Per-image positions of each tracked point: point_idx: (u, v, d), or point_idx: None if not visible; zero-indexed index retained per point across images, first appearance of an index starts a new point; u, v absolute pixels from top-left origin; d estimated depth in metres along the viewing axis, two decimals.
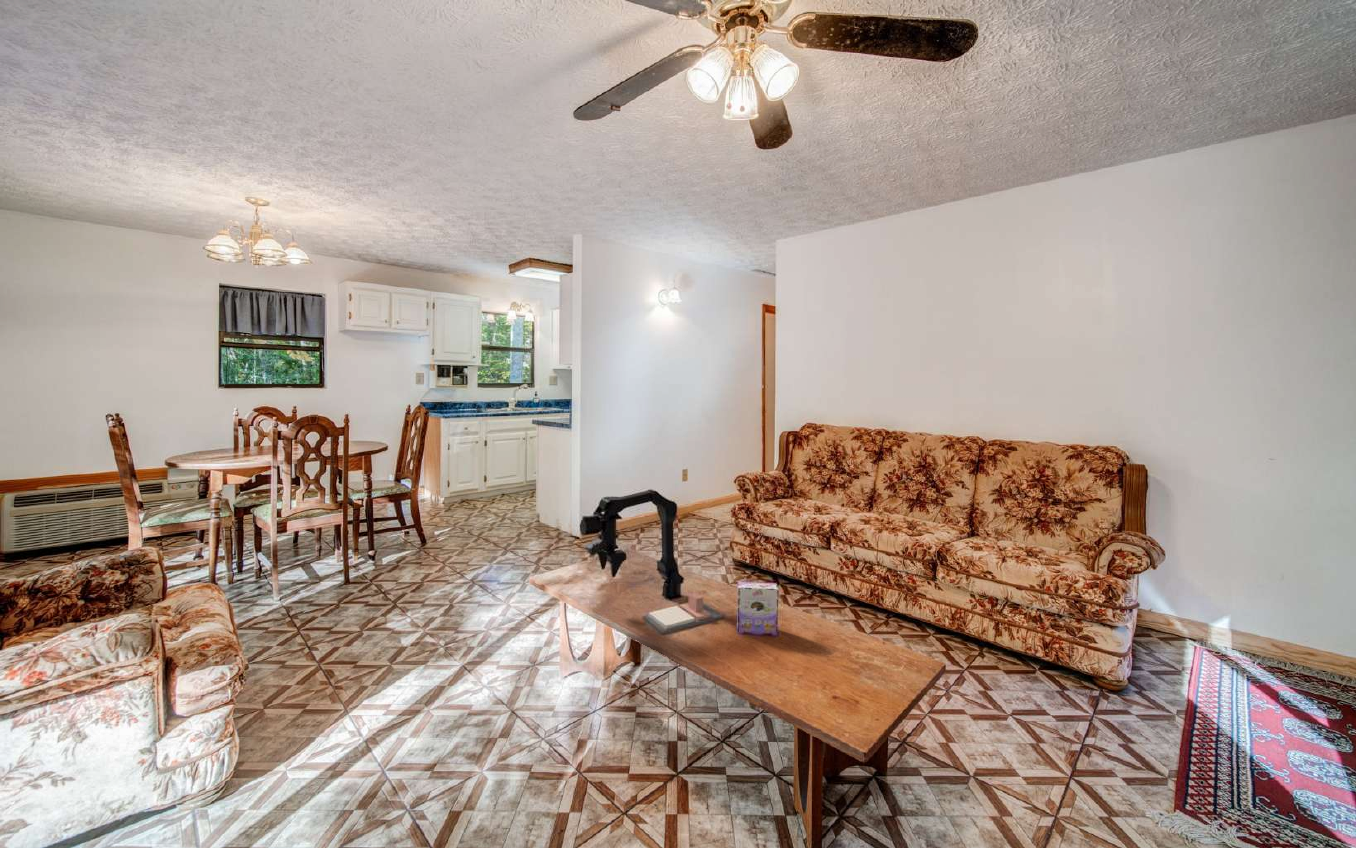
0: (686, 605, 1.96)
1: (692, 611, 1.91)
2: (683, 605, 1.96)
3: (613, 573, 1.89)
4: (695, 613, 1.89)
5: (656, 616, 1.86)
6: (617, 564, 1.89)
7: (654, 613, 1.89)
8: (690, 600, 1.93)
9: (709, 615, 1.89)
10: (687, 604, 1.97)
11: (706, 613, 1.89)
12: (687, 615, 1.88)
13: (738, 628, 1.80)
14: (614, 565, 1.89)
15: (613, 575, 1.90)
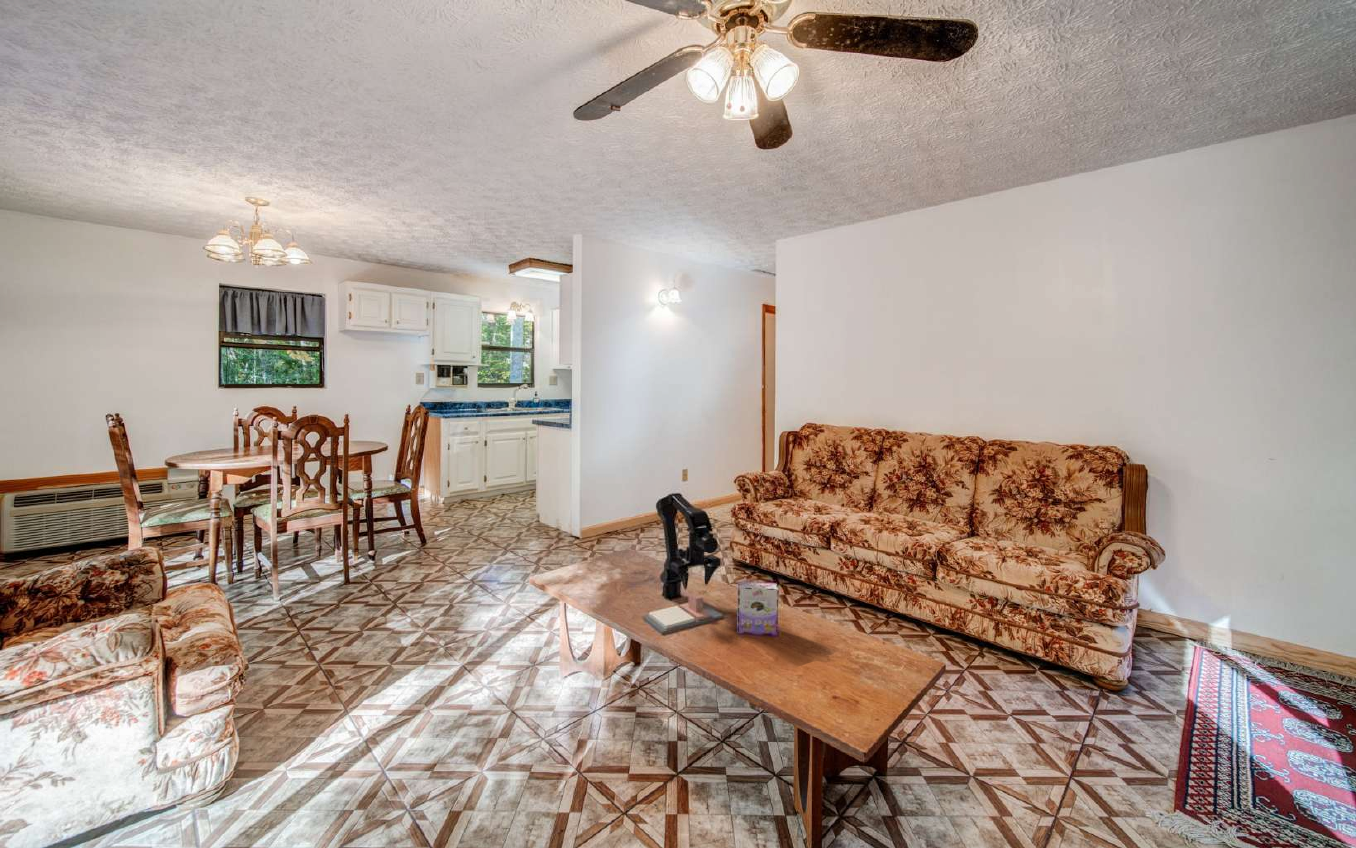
0: (686, 605, 1.96)
1: (692, 611, 1.91)
2: (683, 605, 1.96)
3: (683, 585, 1.90)
4: (695, 613, 1.89)
5: (656, 616, 1.86)
6: (683, 577, 1.88)
7: (654, 613, 1.89)
8: (690, 600, 1.93)
9: (709, 615, 1.89)
10: (687, 604, 1.97)
11: (706, 613, 1.89)
12: (687, 615, 1.88)
13: (738, 628, 1.80)
14: (682, 577, 1.89)
15: (684, 588, 1.90)
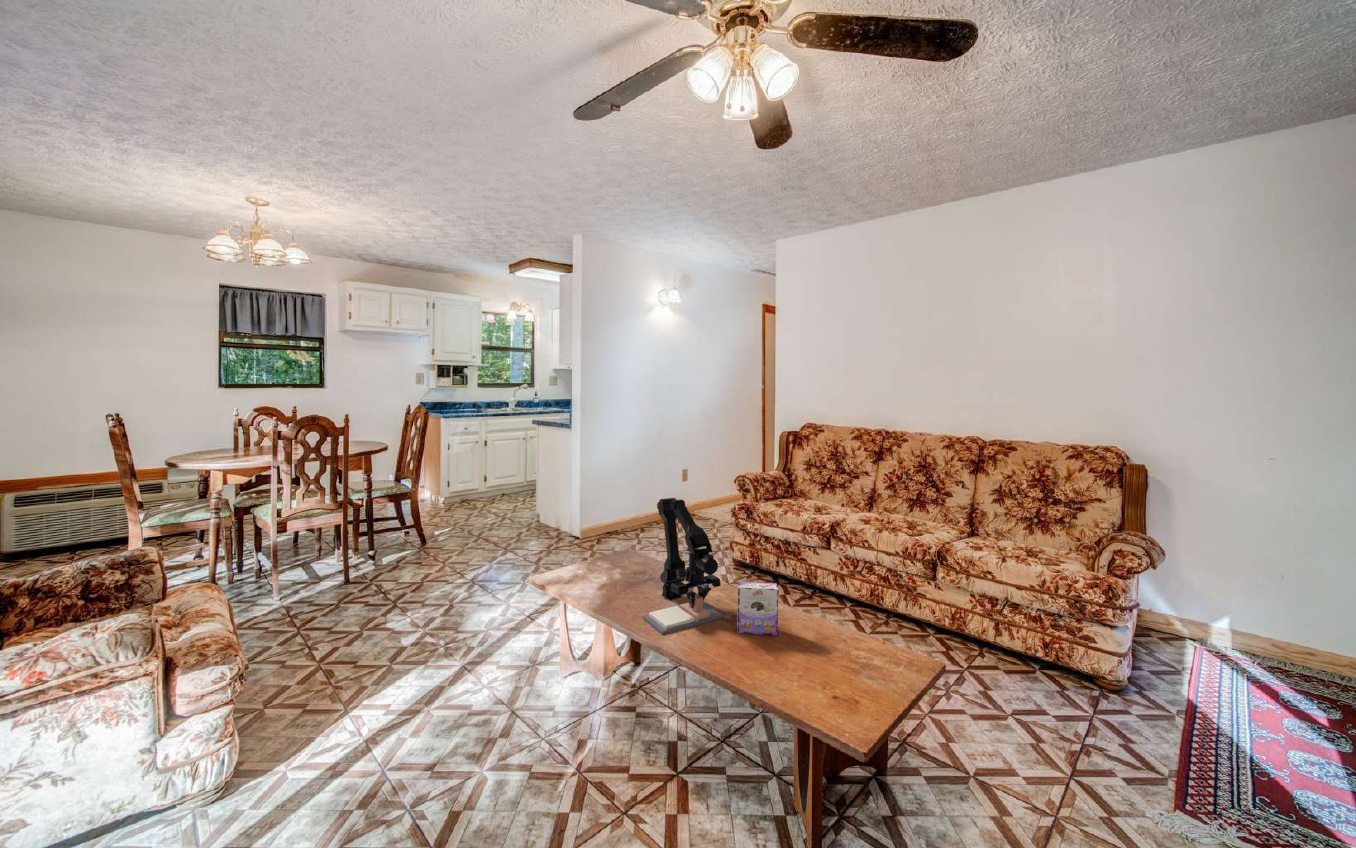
0: (686, 605, 1.96)
1: (692, 611, 1.91)
2: (683, 605, 1.96)
3: (690, 604, 1.92)
4: (695, 613, 1.89)
5: (656, 616, 1.86)
6: None
7: (654, 613, 1.89)
8: None
9: (709, 615, 1.89)
10: (687, 604, 1.97)
11: (706, 613, 1.89)
12: (687, 615, 1.88)
13: (738, 628, 1.80)
14: (689, 596, 1.91)
15: (691, 606, 1.92)
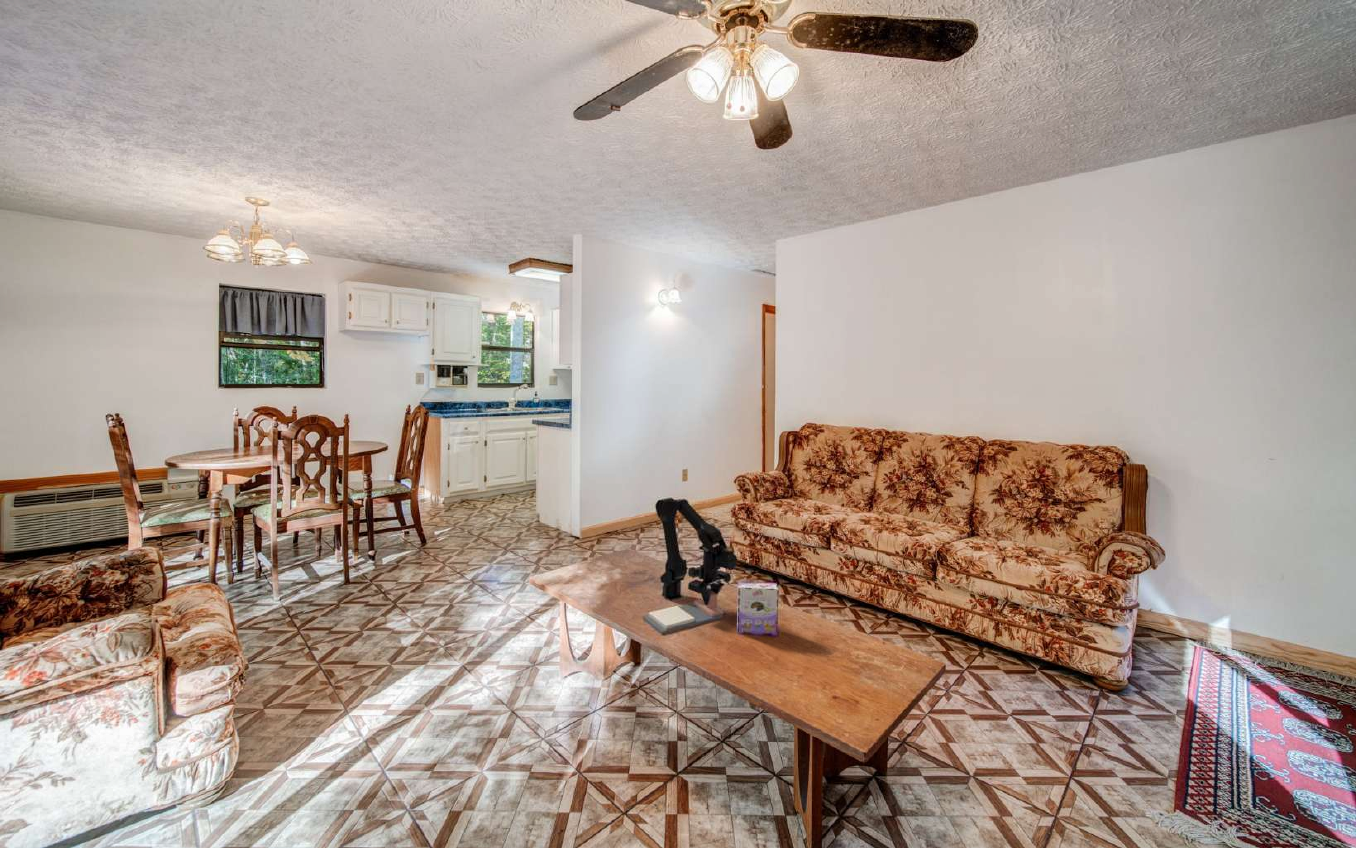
0: (700, 601, 2.00)
1: (706, 607, 1.94)
2: (697, 602, 1.99)
3: (704, 601, 1.95)
4: (709, 609, 1.93)
5: (656, 616, 1.86)
6: (706, 593, 1.93)
7: (654, 613, 1.89)
8: None
9: (723, 611, 1.93)
10: (701, 601, 2.00)
11: (720, 609, 1.93)
12: (687, 615, 1.88)
13: (738, 628, 1.80)
14: (704, 593, 1.94)
15: (705, 603, 1.95)
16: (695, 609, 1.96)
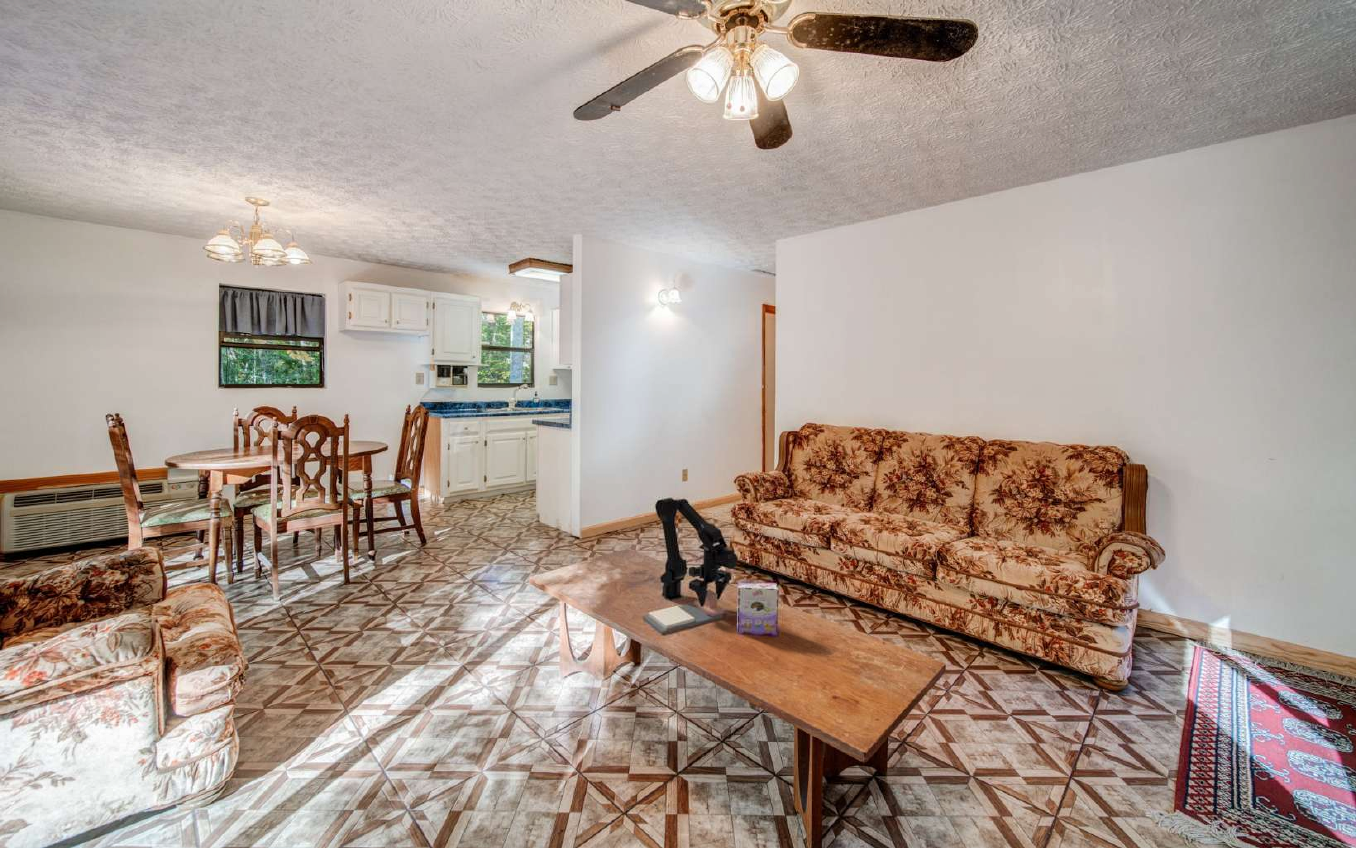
0: None
1: (706, 607, 1.94)
2: (697, 602, 1.99)
3: (700, 602, 1.93)
4: (709, 609, 1.93)
5: (656, 616, 1.86)
6: (701, 595, 1.91)
7: (654, 613, 1.89)
8: None
9: (723, 611, 1.93)
10: None
11: (720, 609, 1.93)
12: (687, 615, 1.88)
13: (738, 628, 1.80)
14: (700, 594, 1.92)
15: (701, 605, 1.93)
16: (695, 609, 1.96)
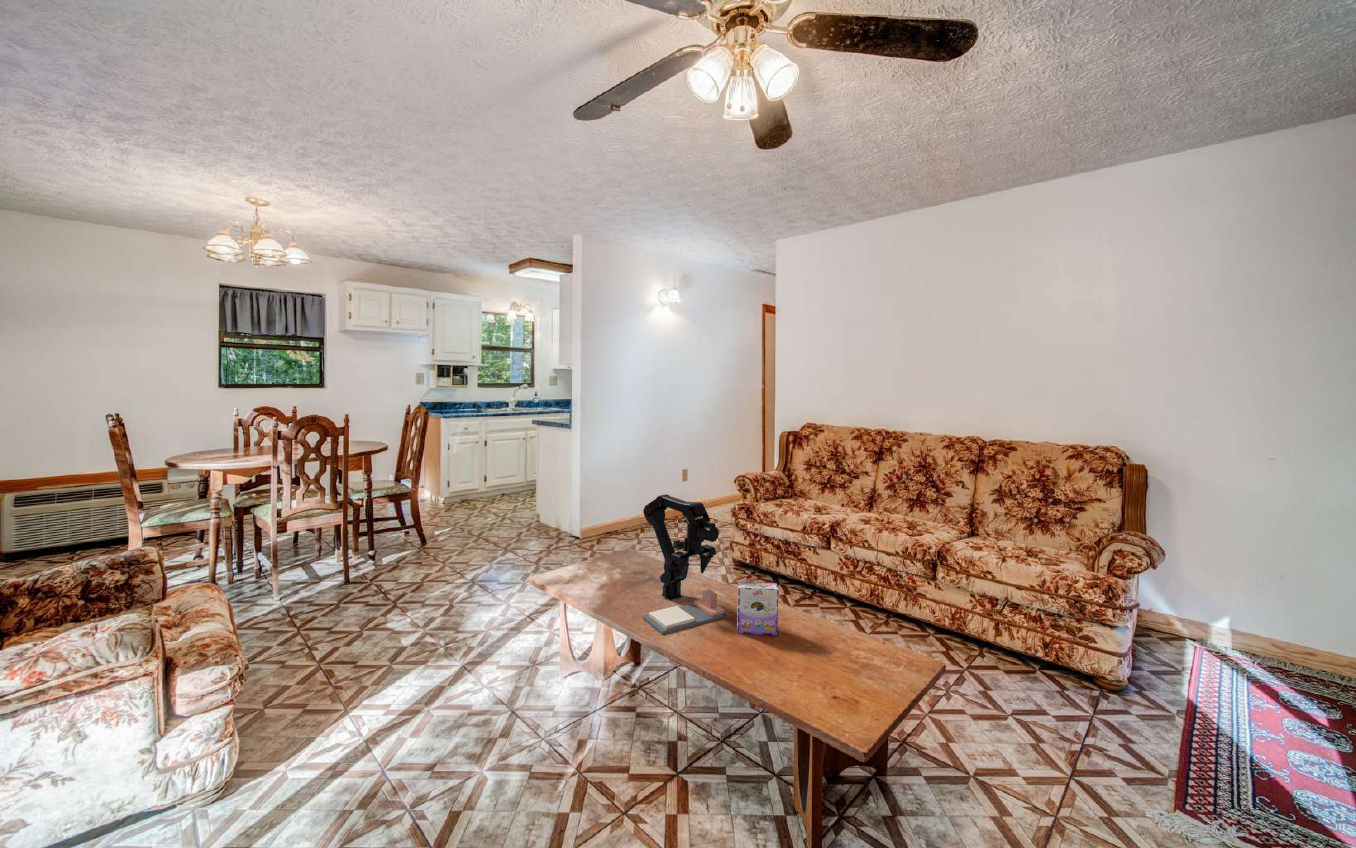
0: (700, 601, 2.00)
1: (706, 607, 1.94)
2: (697, 602, 1.99)
3: (683, 574, 1.97)
4: (709, 609, 1.93)
5: (656, 616, 1.86)
6: (684, 567, 1.95)
7: (654, 613, 1.89)
8: (704, 597, 1.97)
9: (723, 611, 1.93)
10: (701, 601, 2.00)
11: (720, 609, 1.93)
12: (687, 615, 1.88)
13: (738, 628, 1.80)
14: (682, 566, 1.96)
15: (684, 577, 1.97)
16: (695, 609, 1.96)
